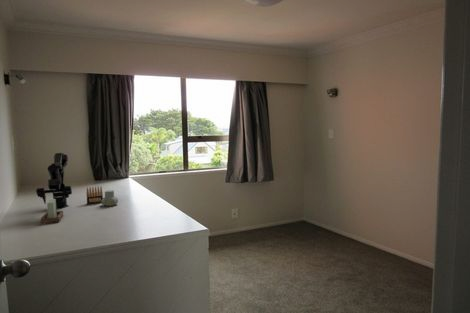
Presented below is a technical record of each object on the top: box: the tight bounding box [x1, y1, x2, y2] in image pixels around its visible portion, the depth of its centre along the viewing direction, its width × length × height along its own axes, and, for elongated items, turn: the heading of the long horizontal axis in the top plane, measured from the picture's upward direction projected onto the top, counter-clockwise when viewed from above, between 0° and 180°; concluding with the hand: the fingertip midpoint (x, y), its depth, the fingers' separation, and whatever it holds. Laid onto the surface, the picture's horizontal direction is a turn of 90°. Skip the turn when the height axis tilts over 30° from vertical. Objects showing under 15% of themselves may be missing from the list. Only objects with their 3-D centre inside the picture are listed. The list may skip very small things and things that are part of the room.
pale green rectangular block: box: [46, 199, 57, 218], centre depth 192 cm, size 9×3×10 cm, turn 20°
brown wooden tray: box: [40, 210, 64, 225], centre depth 192 cm, size 16×9×3 cm, turn 20°
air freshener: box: [100, 189, 119, 207], centre depth 227 cm, size 11×8×10 cm
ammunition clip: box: [86, 186, 104, 205], centre depth 234 cm, size 11×2×12 cm, turn 114°
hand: (53, 202), depth 197 cm, fingers open, 9 cm apart
